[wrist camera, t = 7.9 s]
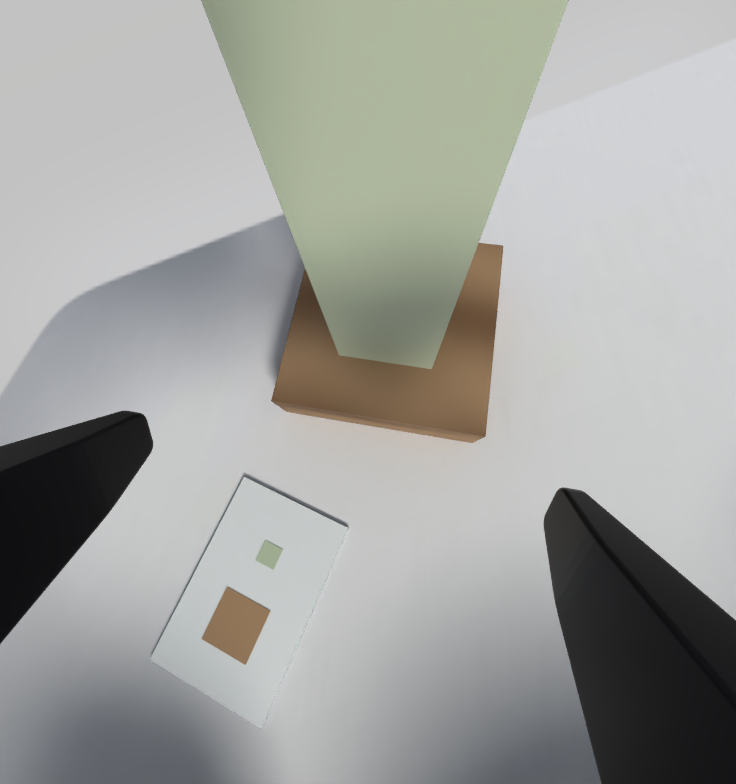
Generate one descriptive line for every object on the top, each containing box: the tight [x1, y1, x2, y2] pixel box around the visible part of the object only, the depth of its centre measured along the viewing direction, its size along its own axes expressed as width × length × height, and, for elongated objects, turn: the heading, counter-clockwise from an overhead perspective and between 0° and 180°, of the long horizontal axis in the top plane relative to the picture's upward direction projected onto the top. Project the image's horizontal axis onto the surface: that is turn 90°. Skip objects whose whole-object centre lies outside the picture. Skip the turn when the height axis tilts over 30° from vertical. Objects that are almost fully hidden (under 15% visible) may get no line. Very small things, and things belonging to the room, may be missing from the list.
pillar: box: [201, 0, 569, 369], centre depth 11 cm, size 4×4×13 cm
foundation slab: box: [271, 243, 503, 443], centre depth 18 cm, size 10×10×2 cm
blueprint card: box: [150, 477, 348, 729], centre depth 16 cm, size 9×6×1 cm, turn 156°
